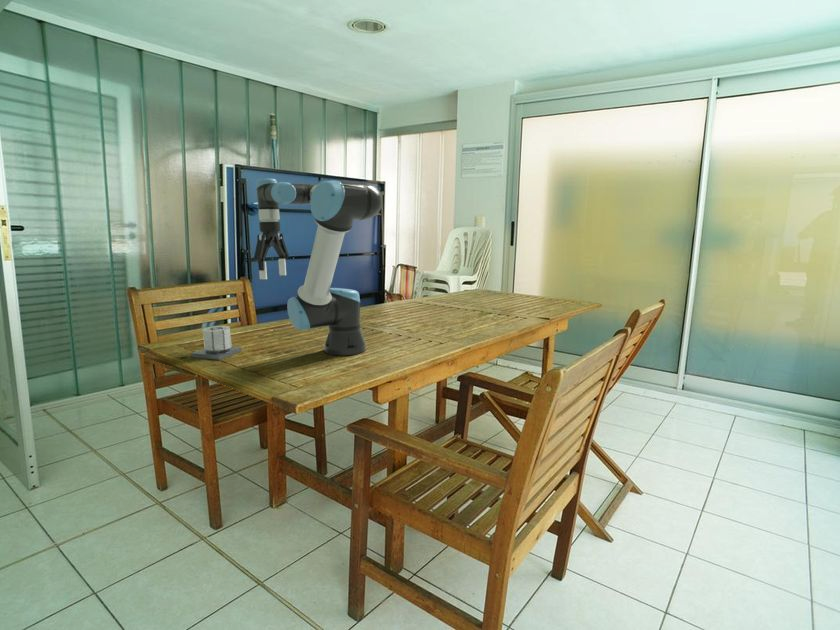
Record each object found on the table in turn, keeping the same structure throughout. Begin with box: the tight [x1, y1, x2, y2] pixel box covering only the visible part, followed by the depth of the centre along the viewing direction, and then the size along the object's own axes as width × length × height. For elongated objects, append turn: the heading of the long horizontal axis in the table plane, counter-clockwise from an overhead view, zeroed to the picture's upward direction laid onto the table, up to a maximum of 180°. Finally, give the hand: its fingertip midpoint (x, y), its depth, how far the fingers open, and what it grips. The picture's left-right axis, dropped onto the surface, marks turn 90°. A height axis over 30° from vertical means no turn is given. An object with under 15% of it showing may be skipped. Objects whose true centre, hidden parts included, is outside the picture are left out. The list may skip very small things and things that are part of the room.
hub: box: [202, 325, 233, 351], centre depth 179 cm, size 9×9×7 cm
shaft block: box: [190, 345, 243, 361], centre depth 178 cm, size 12×12×8 cm
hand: (273, 277), depth 190 cm, fingers open, 13 cm apart
